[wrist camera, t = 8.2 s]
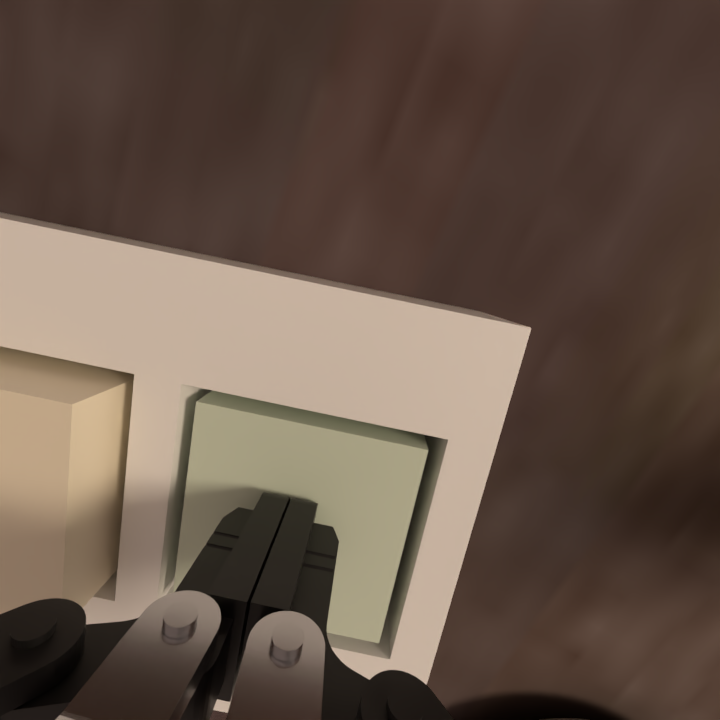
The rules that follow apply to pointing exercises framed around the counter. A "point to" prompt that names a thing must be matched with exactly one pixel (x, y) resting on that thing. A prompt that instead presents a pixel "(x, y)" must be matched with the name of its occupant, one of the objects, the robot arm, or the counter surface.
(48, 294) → the keypad
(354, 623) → the sage key
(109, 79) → the counter surface
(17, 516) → the sand key
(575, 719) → the flying saucer
